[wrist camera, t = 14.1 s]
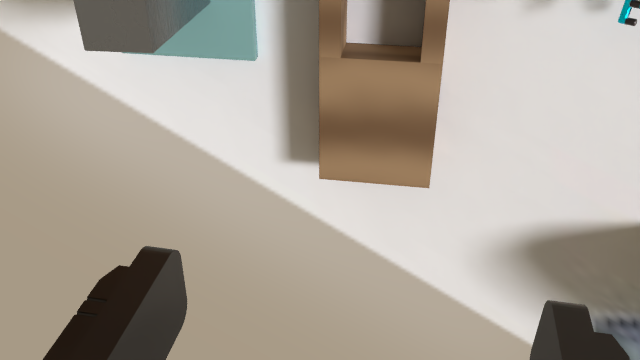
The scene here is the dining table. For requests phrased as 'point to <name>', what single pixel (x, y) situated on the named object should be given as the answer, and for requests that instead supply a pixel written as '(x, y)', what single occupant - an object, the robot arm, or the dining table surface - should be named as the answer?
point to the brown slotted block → (378, 101)
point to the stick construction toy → (628, 12)
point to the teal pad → (216, 33)
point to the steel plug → (133, 23)
